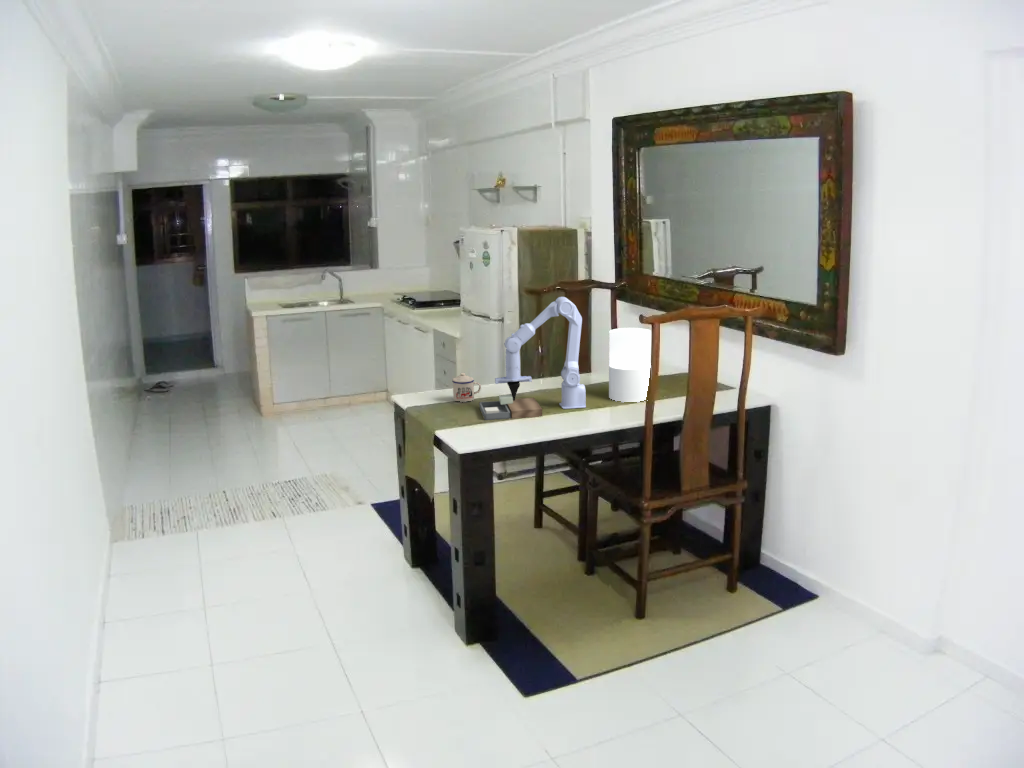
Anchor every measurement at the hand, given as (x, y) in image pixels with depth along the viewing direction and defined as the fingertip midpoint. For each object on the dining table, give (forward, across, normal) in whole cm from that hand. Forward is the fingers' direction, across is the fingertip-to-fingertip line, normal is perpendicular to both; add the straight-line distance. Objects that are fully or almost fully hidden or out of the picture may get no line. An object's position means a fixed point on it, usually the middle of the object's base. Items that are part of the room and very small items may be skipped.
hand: (513, 400), depth 338 cm
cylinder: (+4, +50, +7) cm, 51 cm away
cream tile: (+1, -10, -9) cm, 13 cm away
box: (+4, -8, -4) cm, 10 cm away
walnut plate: (+4, +3, -4) cm, 7 cm away
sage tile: (+1, -3, 0) cm, 3 cm away
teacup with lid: (+4, -17, +19) cm, 26 cm away
